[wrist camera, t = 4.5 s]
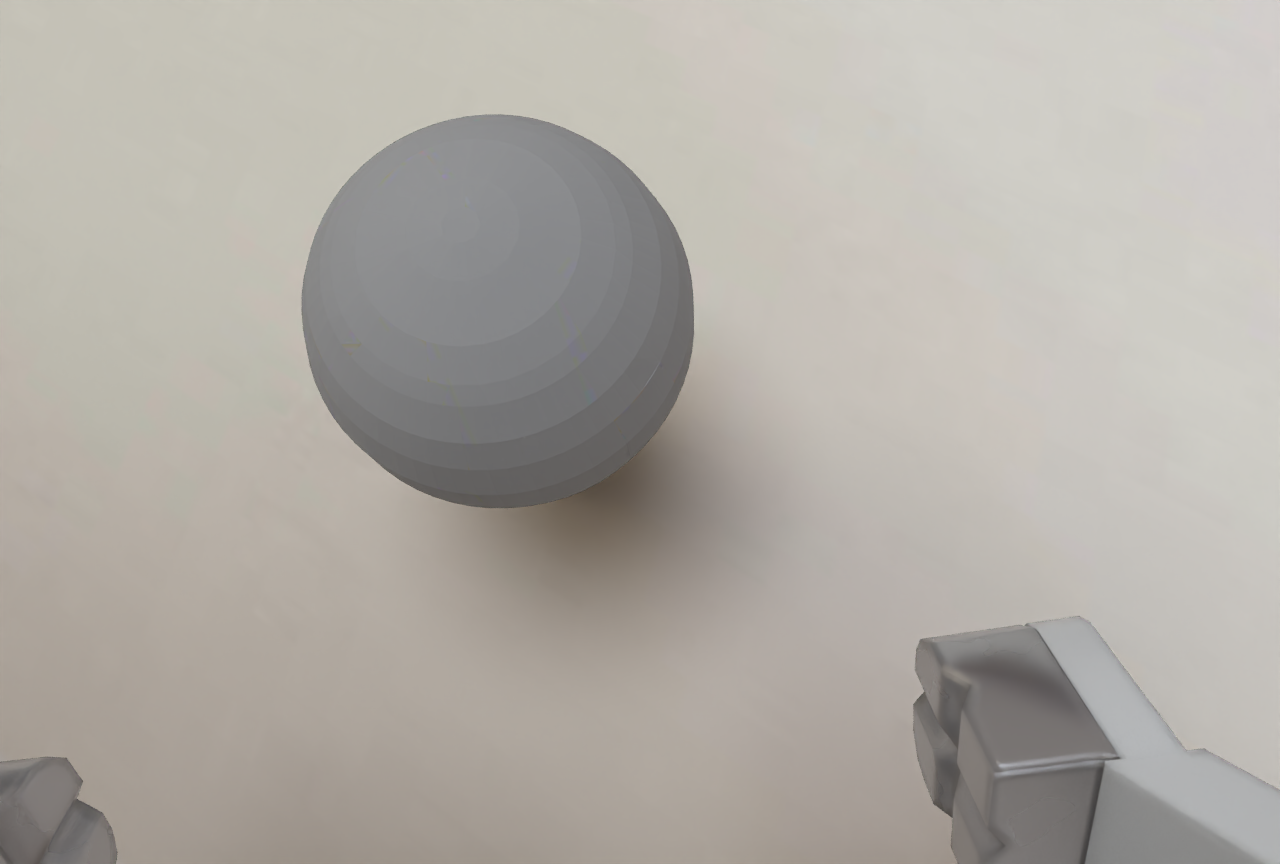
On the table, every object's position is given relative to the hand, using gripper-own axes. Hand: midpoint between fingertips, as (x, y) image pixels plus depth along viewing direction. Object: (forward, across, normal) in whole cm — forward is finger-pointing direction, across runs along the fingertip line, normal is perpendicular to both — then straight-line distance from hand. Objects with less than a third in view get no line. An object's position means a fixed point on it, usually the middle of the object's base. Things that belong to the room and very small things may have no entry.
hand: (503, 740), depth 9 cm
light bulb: (+11, 0, +3) cm, 12 cm away
